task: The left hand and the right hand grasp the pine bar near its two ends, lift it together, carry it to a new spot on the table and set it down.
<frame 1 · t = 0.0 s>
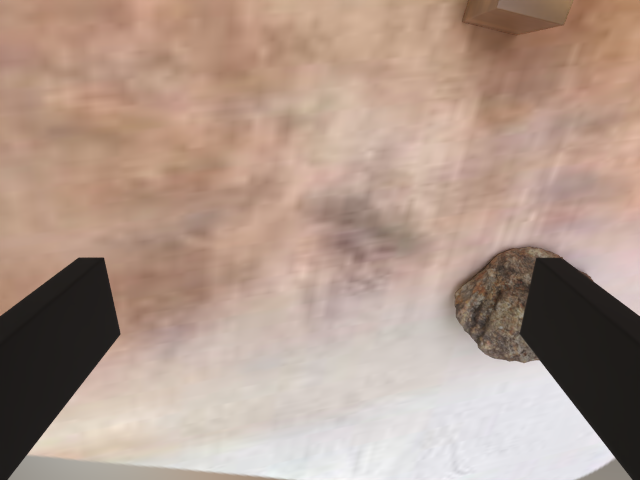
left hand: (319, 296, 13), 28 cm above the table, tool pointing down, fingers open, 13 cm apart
rock: (519, 286, 44), on the table
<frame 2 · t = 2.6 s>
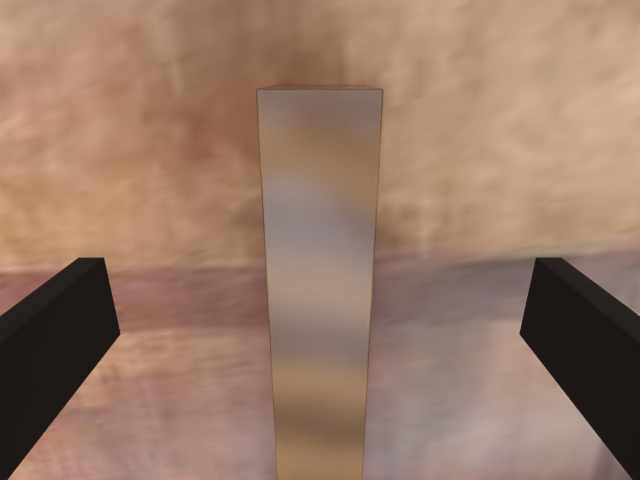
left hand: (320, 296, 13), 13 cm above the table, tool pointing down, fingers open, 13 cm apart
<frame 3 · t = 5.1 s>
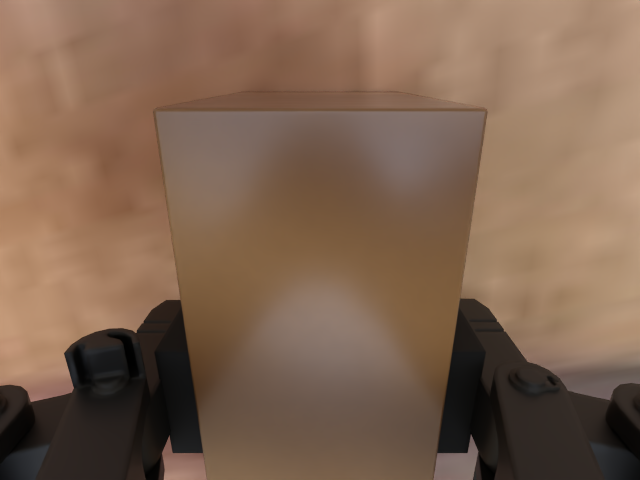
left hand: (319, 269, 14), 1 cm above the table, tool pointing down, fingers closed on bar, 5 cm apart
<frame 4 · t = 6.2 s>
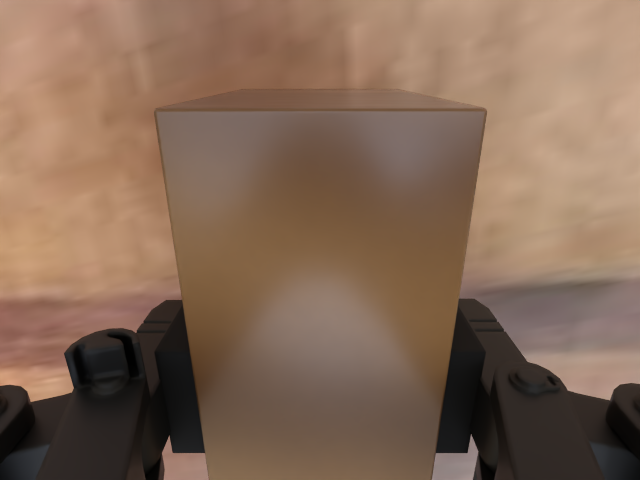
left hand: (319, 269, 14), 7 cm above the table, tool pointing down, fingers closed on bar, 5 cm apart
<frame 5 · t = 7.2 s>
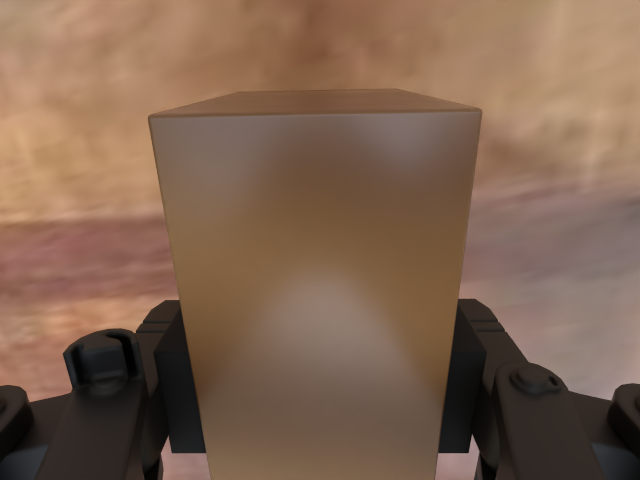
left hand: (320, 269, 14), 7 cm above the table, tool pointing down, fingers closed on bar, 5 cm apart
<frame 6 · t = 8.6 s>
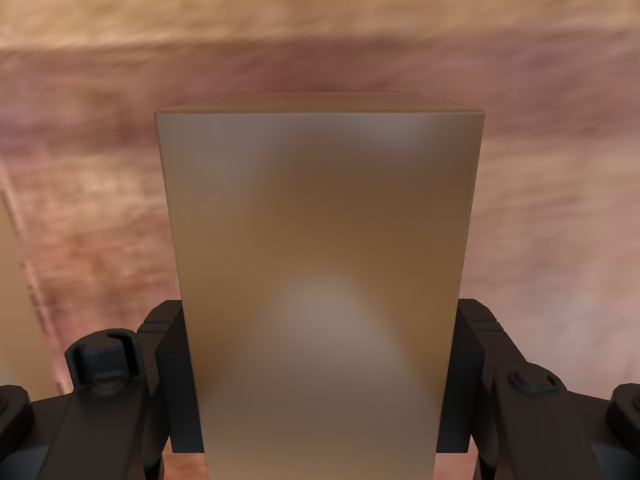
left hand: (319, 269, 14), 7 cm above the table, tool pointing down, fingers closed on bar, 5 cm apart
when the left hand's fingers open (2 cm above the table, at t = 9.6 s): bar drops 1 cm, on the table.
when the right hand's fingers open (4 cm above the table, at t = 9.7 s): bar stays where it is, on the table.
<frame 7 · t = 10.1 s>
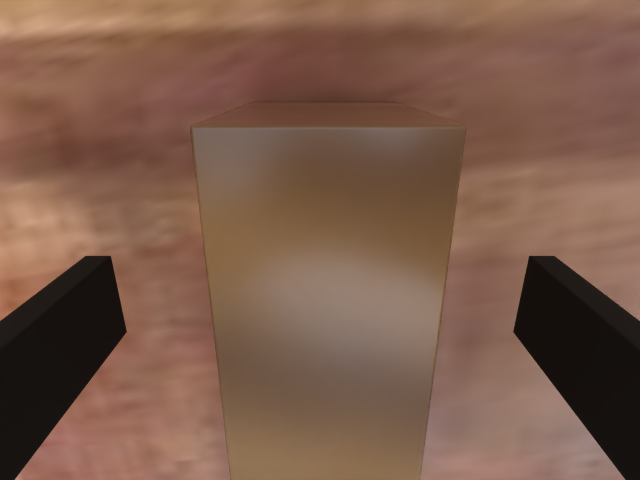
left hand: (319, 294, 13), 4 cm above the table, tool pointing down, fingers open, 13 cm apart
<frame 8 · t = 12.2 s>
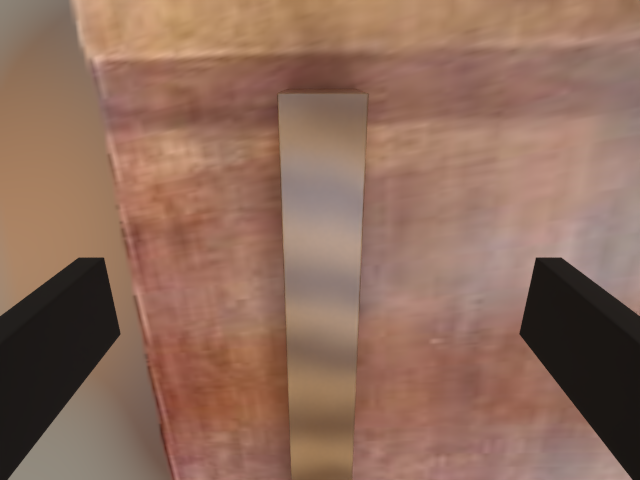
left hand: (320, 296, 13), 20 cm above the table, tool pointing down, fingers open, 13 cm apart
bar: (321, 454, 42), on the table
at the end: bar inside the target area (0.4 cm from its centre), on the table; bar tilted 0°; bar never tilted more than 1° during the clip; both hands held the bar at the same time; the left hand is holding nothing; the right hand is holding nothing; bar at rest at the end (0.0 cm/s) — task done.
